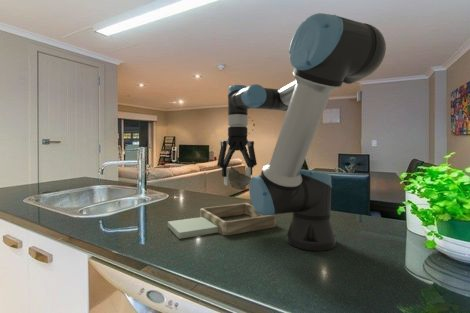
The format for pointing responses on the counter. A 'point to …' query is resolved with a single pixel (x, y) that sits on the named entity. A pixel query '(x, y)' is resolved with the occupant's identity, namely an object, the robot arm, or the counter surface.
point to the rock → (238, 179)
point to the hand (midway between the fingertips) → (237, 184)
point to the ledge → (192, 227)
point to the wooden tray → (237, 225)
